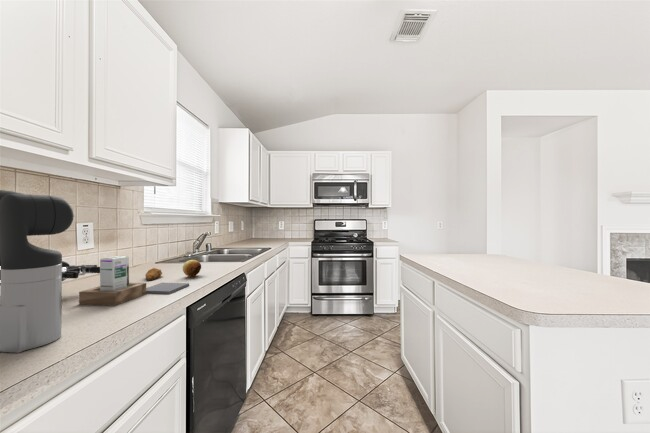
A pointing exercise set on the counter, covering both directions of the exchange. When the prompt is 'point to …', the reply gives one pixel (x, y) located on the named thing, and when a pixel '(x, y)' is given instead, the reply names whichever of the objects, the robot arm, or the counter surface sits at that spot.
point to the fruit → (192, 268)
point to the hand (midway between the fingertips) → (90, 272)
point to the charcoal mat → (166, 288)
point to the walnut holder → (111, 295)
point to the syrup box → (114, 273)
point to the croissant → (153, 274)
